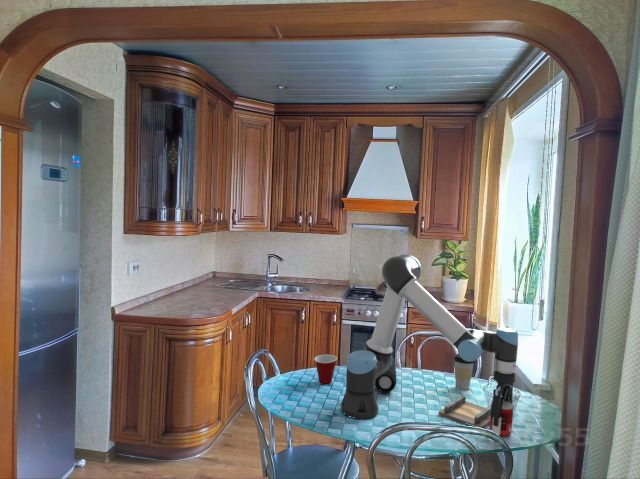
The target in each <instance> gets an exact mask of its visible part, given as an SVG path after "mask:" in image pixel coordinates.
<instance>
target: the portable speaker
mask: <svg viewBox="0 0 640 479" xmlns="http://www.w3.org/2000/svg"><path fill="white" fill-rule="evenodd" d="M396 366H397V365H396V363H395V361H394V359H392V364H391V366H390V368H389V370H388V371H387V372H386V373H384V374H382V375H381V376H380V377H378V378H377V379H376V380H375V389H377V390H378V391H379V392H382V393H390V392H392V391H393V390H394V389H395V388H396V386H397V371H396V370H397V367H396Z"/></svg>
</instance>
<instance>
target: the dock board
mask: <svg viewBox="0 0 640 479" xmlns="http://www.w3.org/2000/svg"><path fill="white" fill-rule="evenodd" d="M466 399H467V398H466V396H465V395H460V396H459V397H457V398H455V399H454V400H453V401H451V402H449V403H448V404H446V405H444V407H443V408H442V409H441V410H439V411H438V416H442V417H444V418H447V419H450V420H453V421H456V422H458V421H459V423H461V422H463V423H462V424H464V423H468V424H471V425H474V426H478V427H481V428H483V429H485V428H486V427H487V426H488V425H490V424H489V423H490V416H491V415H490V414H491V404H490V405H488V406H487V407H484V406H481V405H478V404H476V403H472V402H469V401H466ZM485 426H486V427H485Z"/></svg>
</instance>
